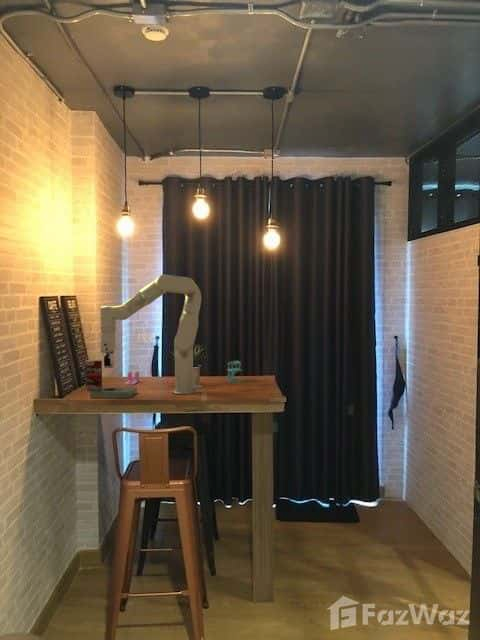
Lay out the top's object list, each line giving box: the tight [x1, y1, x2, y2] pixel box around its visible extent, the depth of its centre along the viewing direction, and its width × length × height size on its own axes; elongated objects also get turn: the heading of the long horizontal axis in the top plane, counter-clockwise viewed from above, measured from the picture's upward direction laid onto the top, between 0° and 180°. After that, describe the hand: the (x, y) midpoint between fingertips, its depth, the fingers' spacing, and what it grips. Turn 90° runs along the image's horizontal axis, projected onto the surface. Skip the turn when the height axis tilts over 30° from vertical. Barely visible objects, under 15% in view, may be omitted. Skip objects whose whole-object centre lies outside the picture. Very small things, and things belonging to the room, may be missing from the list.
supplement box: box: [85, 359, 103, 391], centre depth 283 cm, size 9×5×16 cm, turn 105°
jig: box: [89, 386, 138, 399], centre depth 265 cm, size 20×14×3 cm
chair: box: [226, 360, 244, 383], centre depth 302 cm, size 8×8×12 cm
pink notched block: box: [124, 370, 140, 387], centre depth 297 cm, size 13×6×7 cm, turn 177°
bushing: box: [103, 352, 115, 369], centre depth 264 cm, size 5×5×7 cm
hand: (109, 364), depth 264 cm, fingers closed on bushing, 5 cm apart
